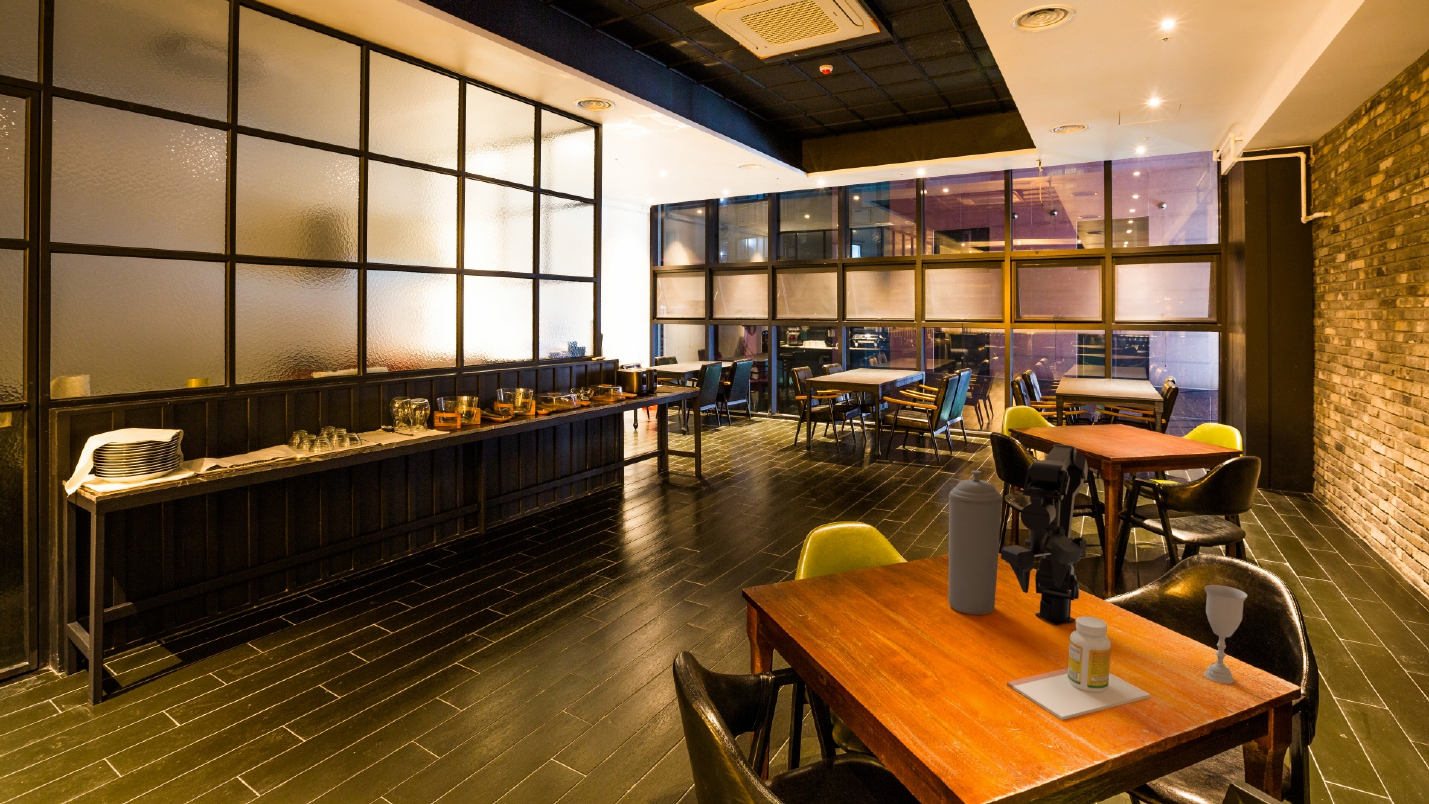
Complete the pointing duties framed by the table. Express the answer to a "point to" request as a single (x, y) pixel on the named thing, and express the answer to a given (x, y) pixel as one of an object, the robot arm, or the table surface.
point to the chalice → (1223, 624)
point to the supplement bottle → (1089, 655)
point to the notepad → (1074, 694)
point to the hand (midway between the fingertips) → (1041, 589)
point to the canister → (973, 545)
